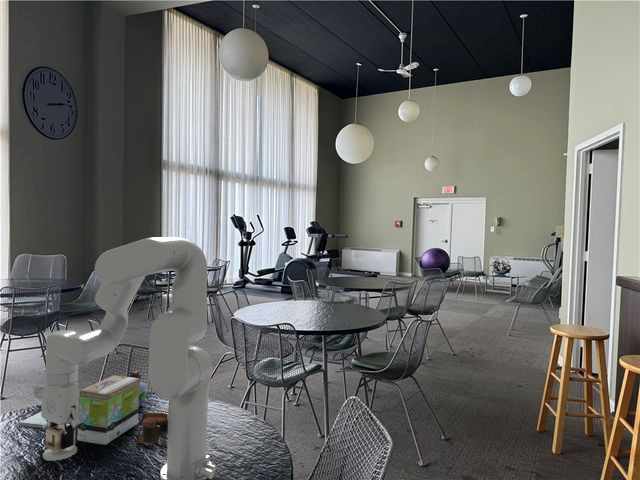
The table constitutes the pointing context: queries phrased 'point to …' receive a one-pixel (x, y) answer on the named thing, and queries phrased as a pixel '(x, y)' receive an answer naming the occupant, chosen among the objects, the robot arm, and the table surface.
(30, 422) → the hard drive
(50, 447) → the letter cube
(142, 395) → the potion bottle
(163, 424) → the pottery mug
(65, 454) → the pale green disc
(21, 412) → the table surface
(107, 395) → the tea box
